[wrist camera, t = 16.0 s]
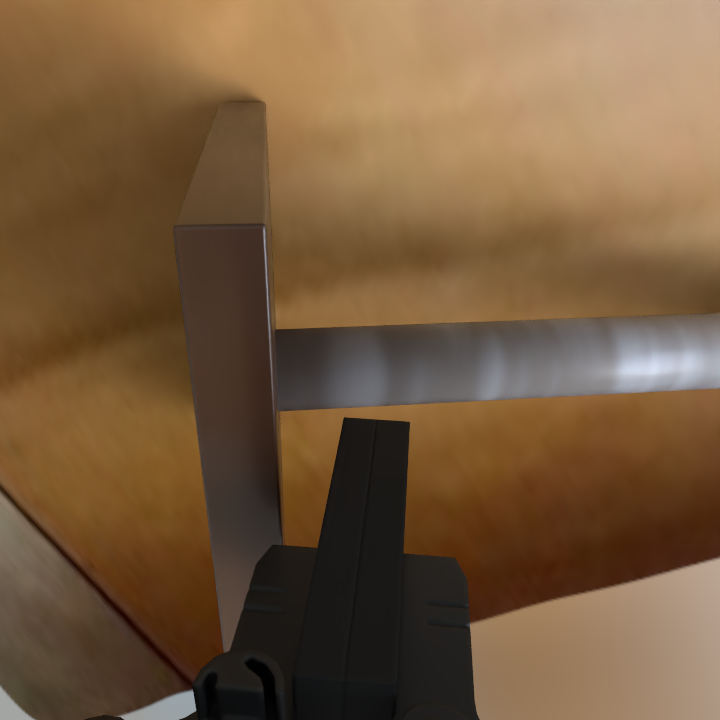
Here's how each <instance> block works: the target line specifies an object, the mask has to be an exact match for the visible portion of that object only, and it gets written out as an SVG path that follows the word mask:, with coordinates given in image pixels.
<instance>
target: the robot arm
mask: <svg viewBox="0 0 720 720" xmlns="http://www.w3.org/2000/svg"><path fill="white" fill-rule="evenodd" d="M409 428H410V422H404V421H389V420H374V419H359V418H345V417H344V420H343V425H342V430H341V435H340V440H339V445H338V450H337V455H336V460H335V465H334V469H333V474H332V479H331V484H330V489H329V494H328V499H327V504H326V509H325V514H324V519H323V524H322V529H321V534H320V539H319V543H318V548H310V547H298V546H286V545H274V544H273V545H272V546H271V547H270V548H269V549H268V550H267V552H266V553H265V554H264V555H263V556H262V557H261V559H260V560H259V561H258V562H257V563H256V566H255V569H254V572H253V576H252V579H251V582H250V585H249V591H248V592H247V595H246V599H245V602H244V607H243V610H242V612H241V615H240V618H239V622H238V625H237V628H236V632H235V635H234V638H233V641H232V645H231V648H230V651H228V652H225V653H223V654H221V655H218V656H216V657H214V658H213V659H212V660H211V661H210V662H208V663H207V664H206V665H205V666H204V667H203V668H202V669H201V670H200V672H199V673H198V675H197V677H196V679H195V680H194V682H193V684H192V686H193V692H194V698H195V704H196V710H197V711H196V712H194V713H192V714H190V715H189V716H187V717H185V718H183V719H180V720H479V718H478V715H477V712H476V706H475V701H474V685H473V668H472V652H471V635H470V618H469V608H468V606H469V601H468V585H467V578H466V577H465V575H464V573H463V571H462V569H461V568H460V566H459V564H458V562H457V560H456V559H455V558H452V557H440V556H428V555H415V554H403V549H404V529H405V509H406V489H407V469H408V449H409ZM85 720H124V719H122V718H121V717H114V716H107V715H102V716H98V717H93V718H89V719H85Z"/></svg>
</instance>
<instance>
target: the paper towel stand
mask: <svg viewBox="0 0 720 720" xmlns="http://www.w3.org/2000/svg"><path fill="white" fill-rule="evenodd" d="M173 235H174V244H175V252H176V260H177V268H178V277H179V285H180V293H181V301H182V310H183V318H184V326H185V334H186V343H187V351H188V359H189V368H190V376H191V384H192V392H193V401H194V409H195V417H196V425H197V434H198V442H199V450H200V458H201V467H202V475H203V483H204V492H205V500H206V508H207V516H208V525H209V533H210V541H211V549H212V558H213V566H214V574H215V582H216V591H217V599H218V607H219V616H220V624H221V632H222V640H223V649H224V653H225V652H228V651H230V648H231V645H232V641H233V638H234V635H235V632H236V628H237V625H238V622H239V618H240V615H241V612H242V610H243V607H244V602H245V599H246V595H247V592H248V591H249V585H250V582H251V579H252V576H253V572H254V569H255V566H256V563H257V562H258V561H259V560H260V559H261V557H262V556H263V555H264V554H265V553H266V552H267V550H268V549H269V548H270V547H271V546H272V545H273V544H274V545H285V535H284V508H283V481H282V453H281V426H280V411H294V410H313V409H333V408H352V407H371V406H390V405H409V404H428V403H448V402H467V401H486V400H505V399H524V398H544V397H563V396H582V395H601V394H620V393H640V392H659V391H678V390H697V389H716V388H720V313H702V314H675V315H649V316H622V317H596V318H569V319H543V320H516V321H490V322H464V323H437V324H411V325H384V326H358V327H331V328H305V329H278V330H276V319H275V297H274V276H273V254H272V233H271V211H270V190H269V168H268V147H267V125H266V104H265V103H264V102H220V103H219V106H218V109H217V111H216V114H215V117H214V119H213V122H212V125H211V128H210V130H209V133H208V136H207V138H206V141H205V144H204V146H203V149H202V152H201V154H200V157H199V160H198V162H197V165H196V168H195V170H194V173H193V176H192V178H191V181H190V184H189V186H188V189H187V192H186V195H185V197H184V200H183V203H182V205H181V208H180V211H179V213H178V216H177V219H176V221H175V224H174V227H173Z"/></svg>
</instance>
